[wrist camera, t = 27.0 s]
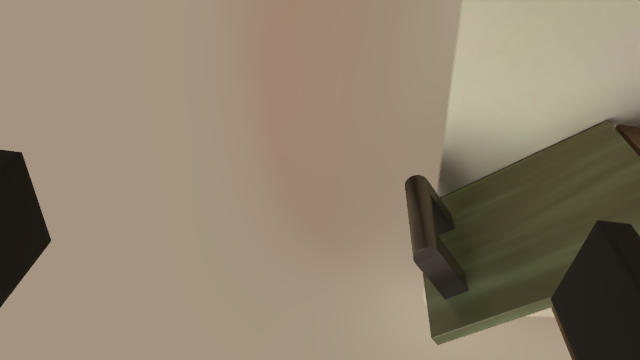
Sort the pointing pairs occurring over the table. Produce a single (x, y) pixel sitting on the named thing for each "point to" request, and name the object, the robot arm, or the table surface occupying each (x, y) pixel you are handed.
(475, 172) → the table surface
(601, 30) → the table surface
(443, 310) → the cupboard door
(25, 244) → the robot arm
